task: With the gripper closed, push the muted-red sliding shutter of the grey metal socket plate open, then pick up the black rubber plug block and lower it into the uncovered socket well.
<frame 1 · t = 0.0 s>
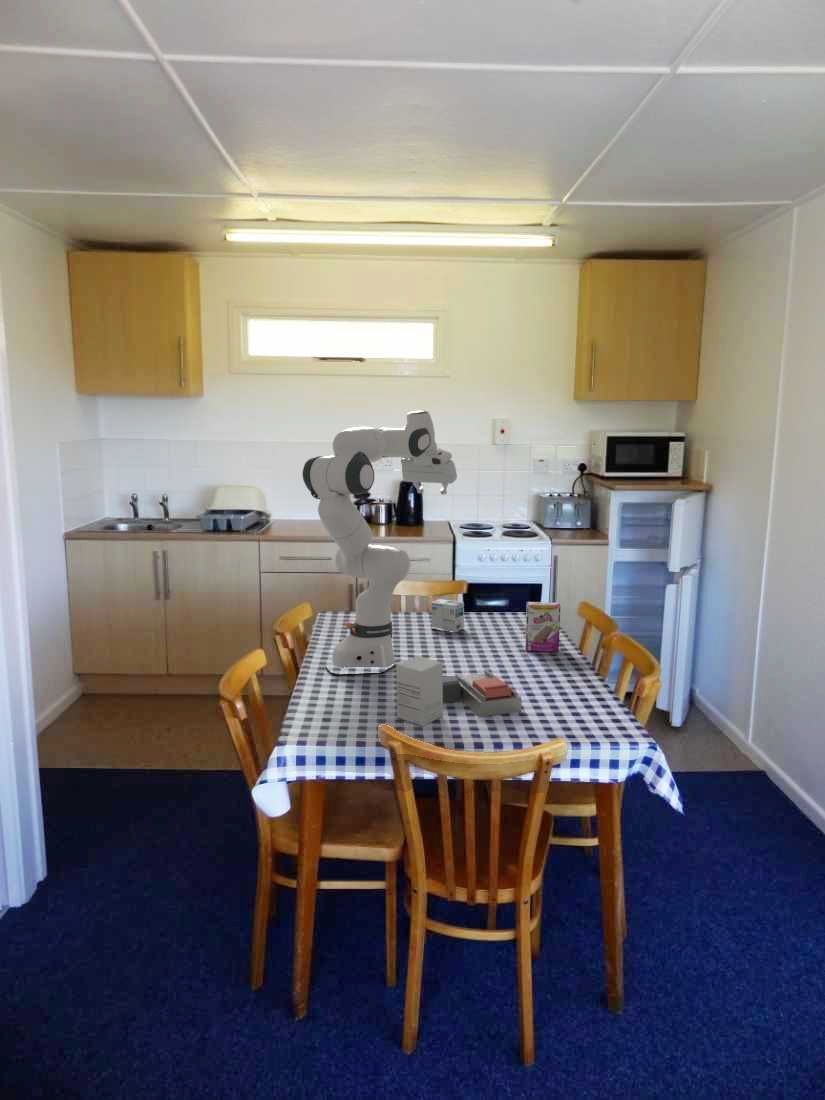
hand: (432, 493, 265), 52 cm above the table, tool tilted 20°, fingers open, 8 cm apart
socket: (484, 700, 211), on the table
supplement box: (419, 718, 199), on the table
candy bar box: (542, 651, 257), on the table
shutter: (491, 686, 206), point 6 cm above the table, slide at 0.0 cm
light bulb box: (447, 630, 283), on the table
plug: (447, 699, 212), on the table
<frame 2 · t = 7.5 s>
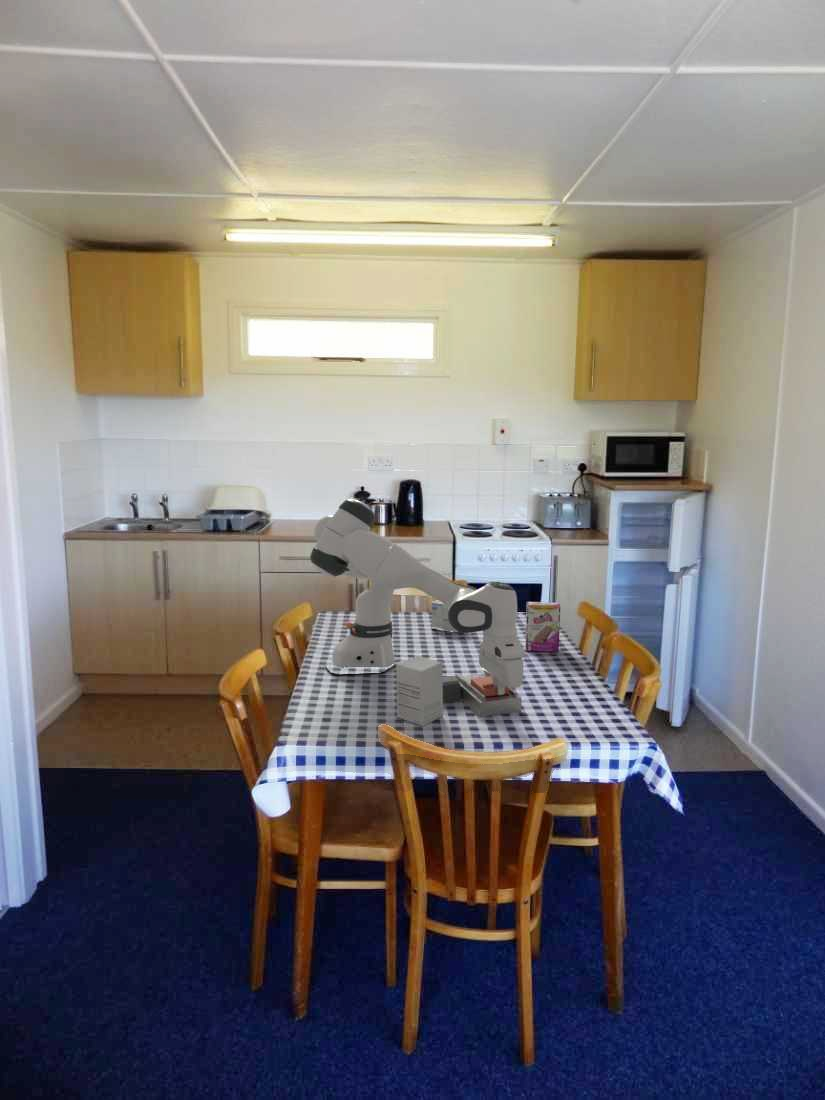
hand: (499, 693, 202), 5 cm above the table, tool pointing down, fingers closed
shutter: (489, 684, 207), point 6 cm above the table, slide at 1.4 cm, touching gripper
everything else where it was.
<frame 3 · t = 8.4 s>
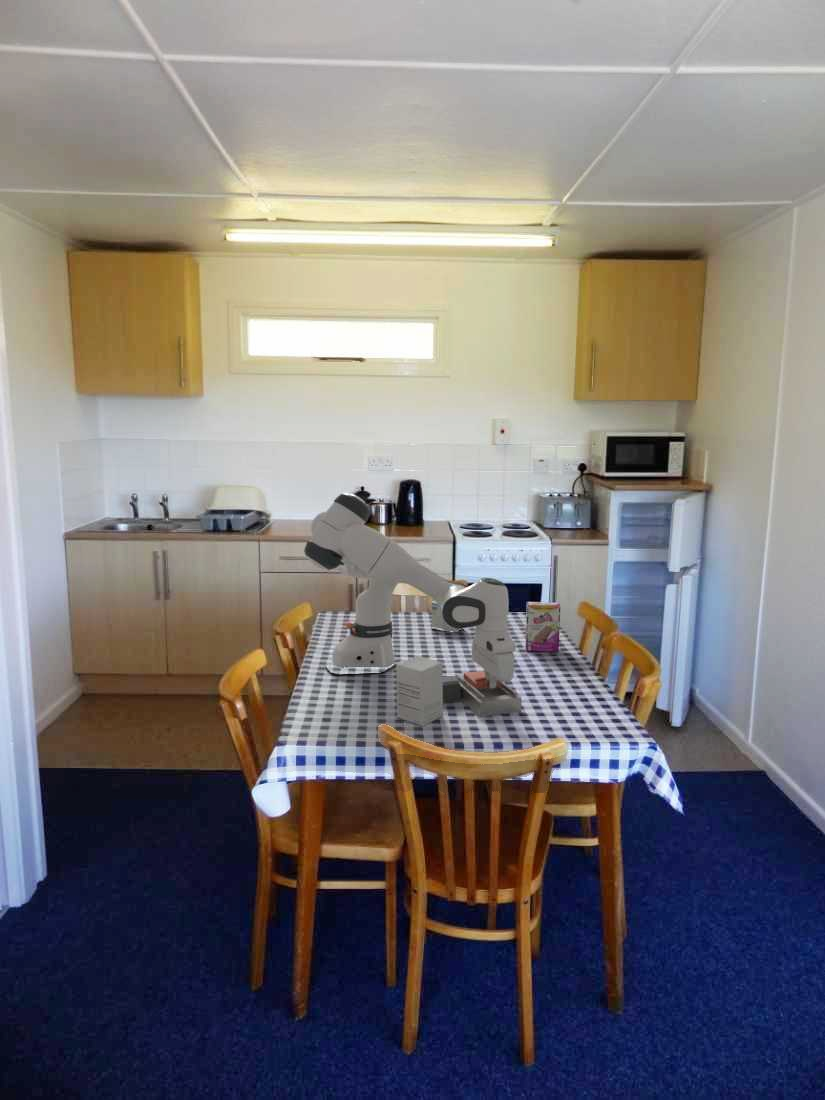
hand: (491, 686, 207), 5 cm above the table, tool pointing down, fingers closed
shutter: (481, 678, 212), point 6 cm above the table, slide at 6.7 cm, touching gripper
everything else where it was.
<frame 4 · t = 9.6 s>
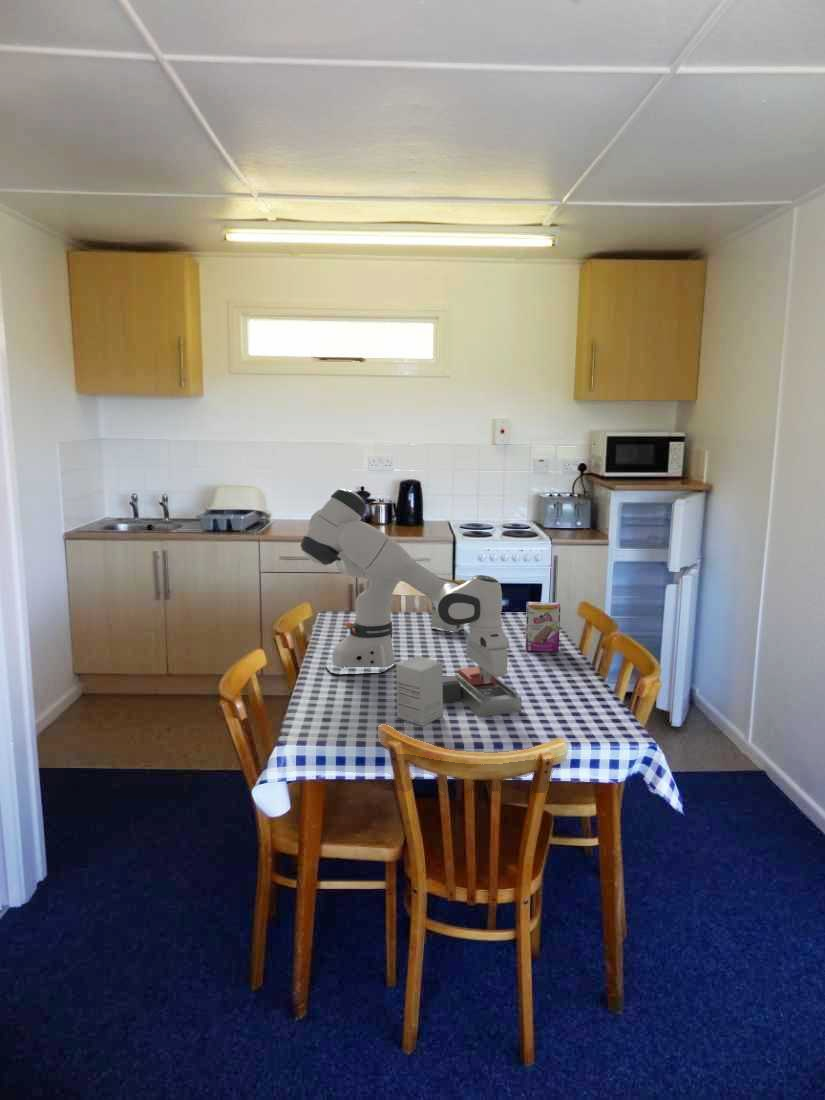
hand: (485, 682, 210), 5 cm above the table, tool pointing down, fingers closed
shutter: (476, 674, 216), point 6 cm above the table, slide at 10.5 cm, touching gripper
everything else where it was.
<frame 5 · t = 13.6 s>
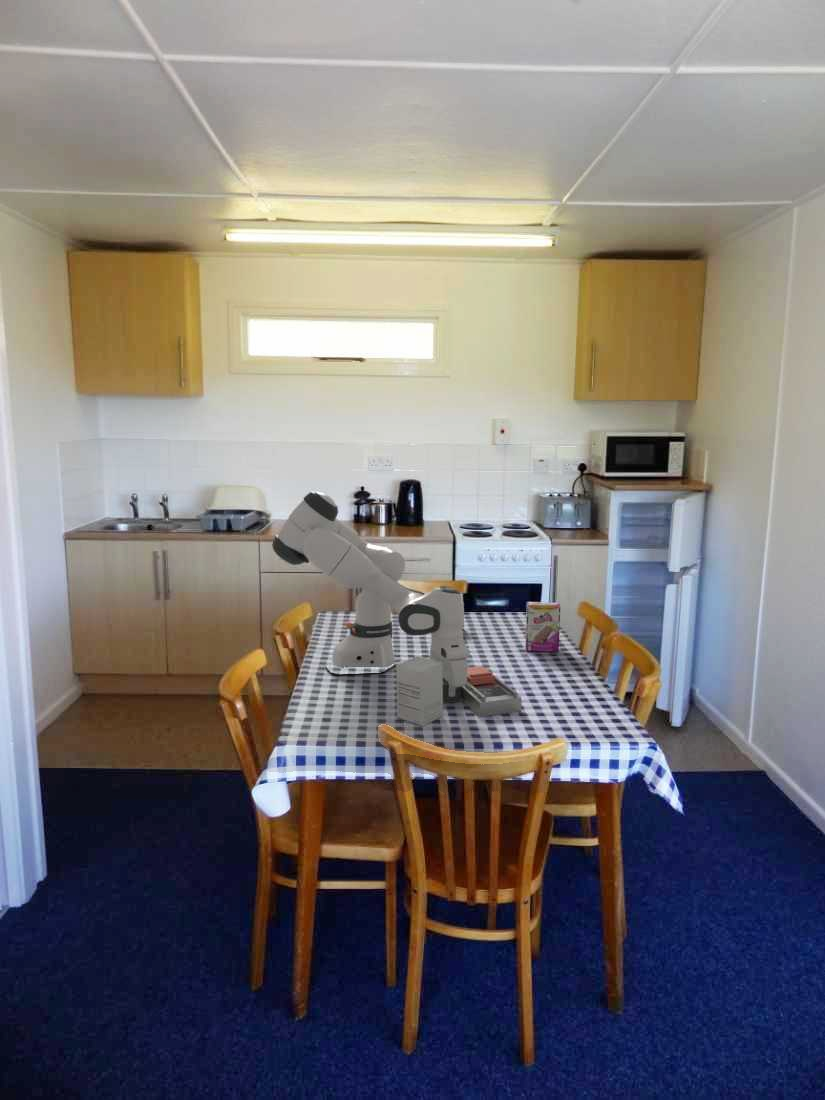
hand: (447, 691, 212), 2 cm above the table, tool pointing down, fingers closed on plug, 5 cm apart
shutter: (476, 674, 216), point 6 cm above the table, slide at 10.5 cm
plug: (447, 699, 212), on the table, touching gripper
everything else where it was.
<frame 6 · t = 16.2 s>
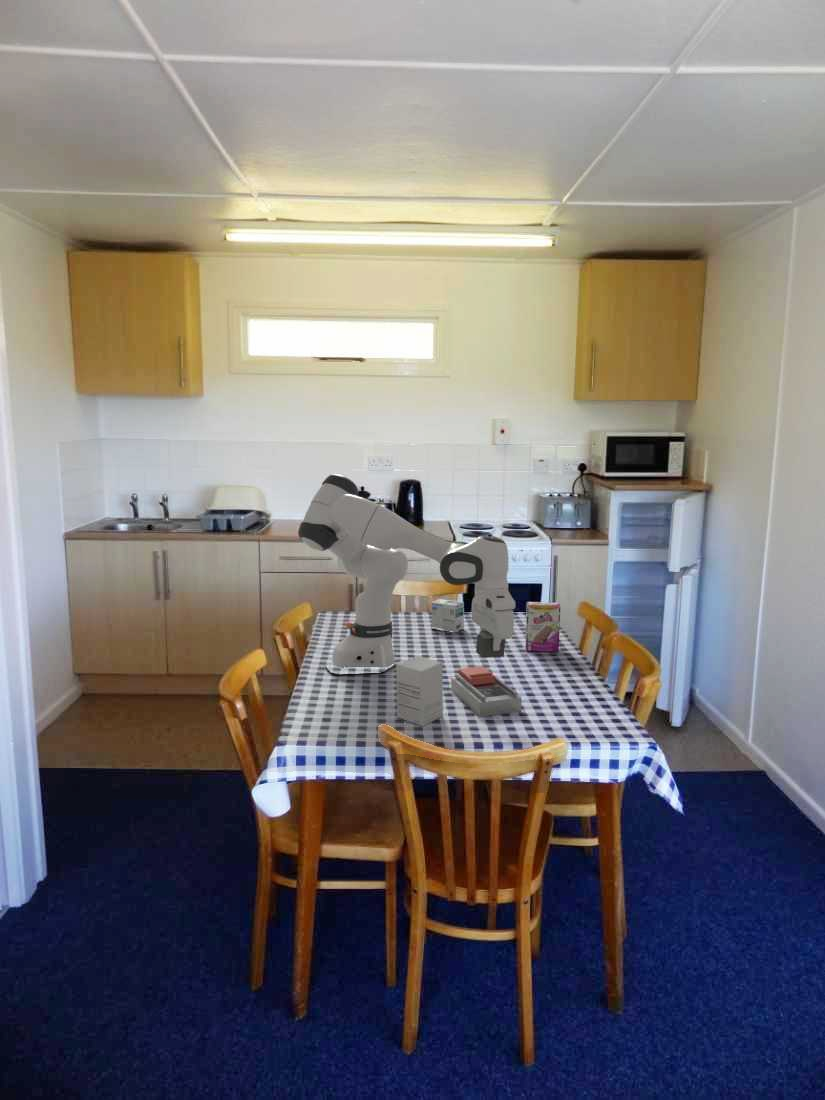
hand: (490, 646, 204), 17 cm above the table, tool pointing down, fingers closed on plug, 5 cm apart
plug: (490, 654, 204), point 15 cm above the table, touching gripper
everything else where it was.
when the fingers open (5 cm above the table, at t = 18.4 s): plug drops 2 cm, resting on socket.
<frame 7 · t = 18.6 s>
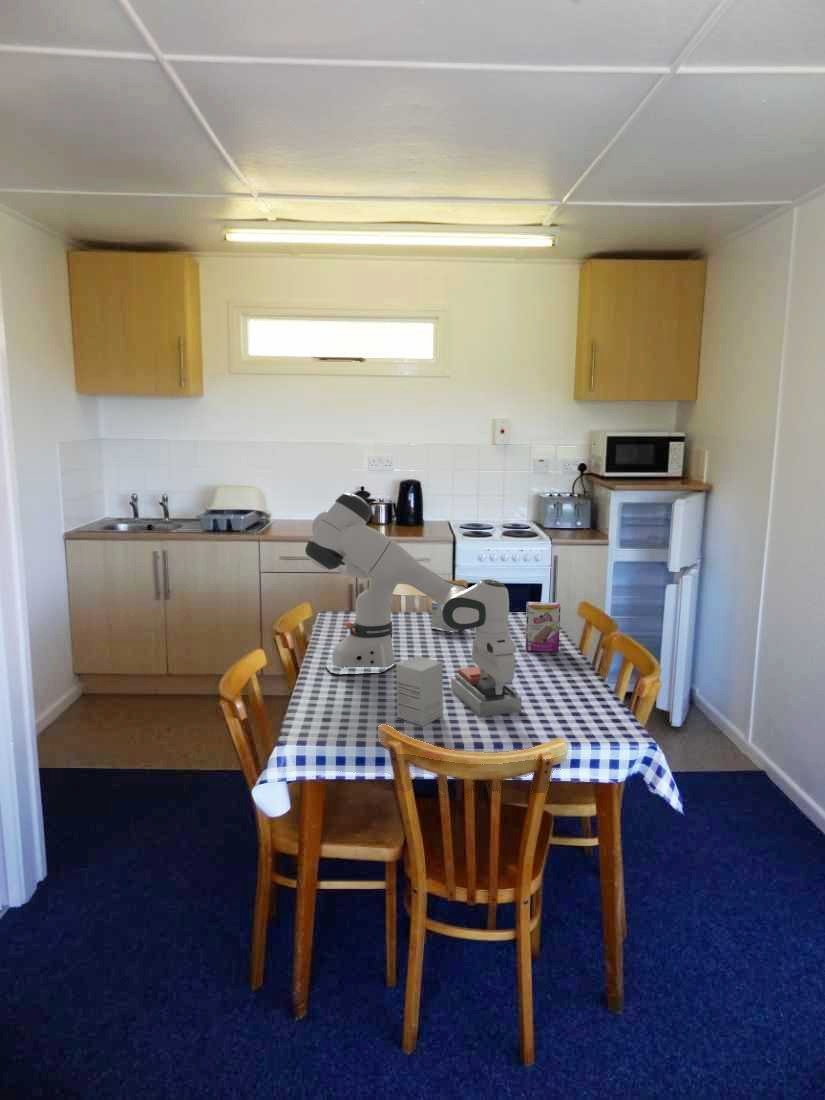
hand: (491, 688, 206), 5 cm above the table, tool pointing down, fingers open, 7 cm apart
plug: (490, 702, 207), point 1 cm above the table, touching socket
everything else where it was.
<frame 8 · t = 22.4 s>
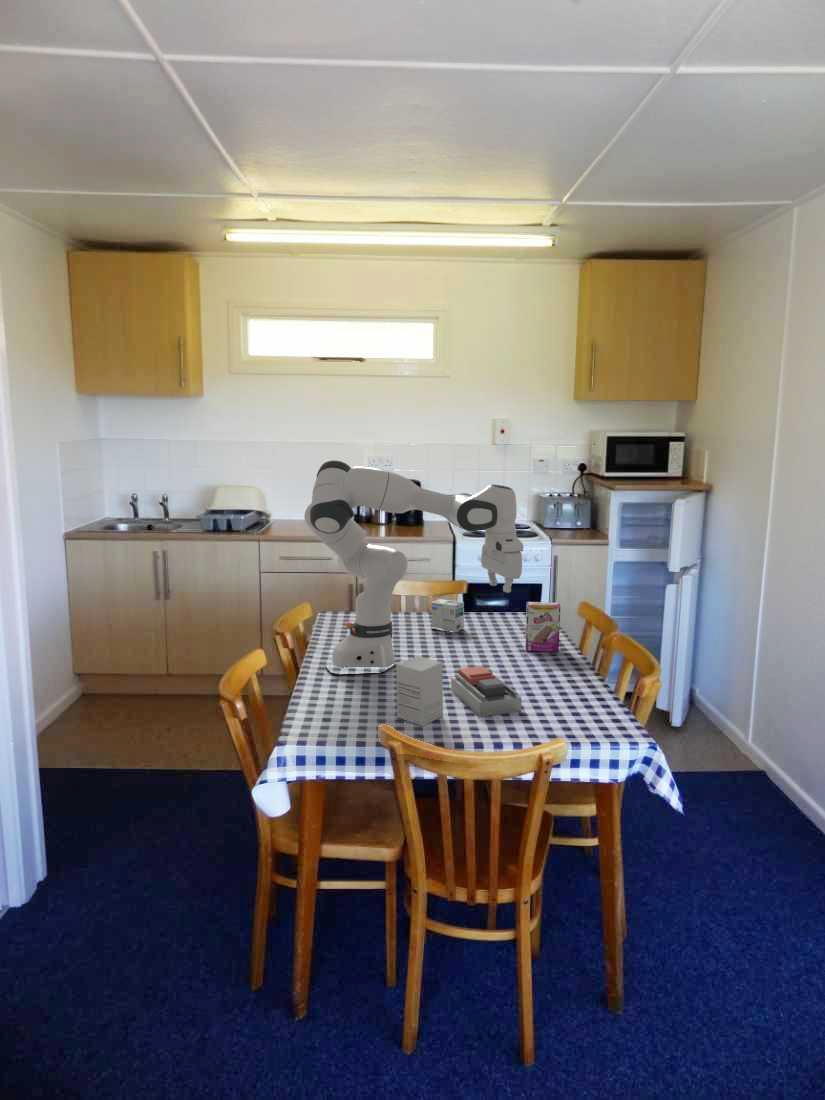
hand: (500, 588, 219), 29 cm above the table, tool pointing down, fingers open, 8 cm apart
nothing on the table moved.
at the end: shutter slide at 10.5 cm; plug 0.3 cm from the target spot on the socket, point 1.0 cm above the socket's base; the gripper is holding nothing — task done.
